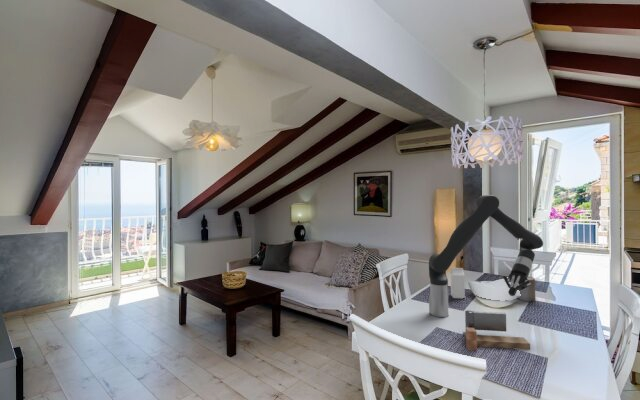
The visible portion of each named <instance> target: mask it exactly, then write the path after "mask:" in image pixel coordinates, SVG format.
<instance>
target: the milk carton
mask: <svg viewBox="0 0 640 400" xmlns="http://www.w3.org/2000/svg"><path fill="white" fill-rule="evenodd" d="M465 276H466V275H465V272H464V268H463V267H451V270H450V296H451V297H452V298H453V299H463V298H465V299H466V283H465V281H466V280H465V279H466V277H465Z"/></svg>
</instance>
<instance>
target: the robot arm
mask: <svg viewBox="0 0 640 400" xmlns="http://www.w3.org/2000/svg"><path fill="white" fill-rule="evenodd" d="M475 205H476V207H477V208H476V209H475V210H474V212H473V213H472V214H471V215H469V216H468V217H467V218H465V219H464V220H463V221H462V222H461V223H459V225H458V226H457V227H456V228H455V229H454V231H453V232H452V234H451V235H450V237H449V240H448V242H447V245H446V246H445V248H444V249H443V250H441V252H440V253H434V254H432V255H431V256H430V257H429V260H428V275H429V276H428V277H429V282H430V283H429V284H430V285H429V286H430V287H429V288H430V289H429V290H430V291H429V292H430V295H429V296H428V312H429V314H431V316H433V317H437V318H447V317H448V316H449V280H448V277H447V271H448V270H449V268H450V267H451V265H452V263H454V261H455V259H456V258H457V256H458V255H459V254H460V252H461V251H462V250H463V249H464V248H465V247H466V245H467V244H468V243H469V242H470V241H471V239H473V237H474V236H475V234H476V233H477V232H478V231H479V230H480V228H481V227H482V226H483V224H484V223H485V222H486V221H487V220H488V219H489V218H490V217H491V218H492V219H493V220H494V221H496V222H497V223H498V224H499V225H501V227H503V228H504V229H505V230H506V231H507V232H508V233H510V234H511V235H512V236H513V237H514V238H515V239H520V241H519V253H518V255H517V257H516V259H515V260H514V263H513V266H512V268H511V271H510V273H509V274H508V276H505V275H504V276H503V277H502V278H503V280H504V282H505V284H506V285H507V288H508V290H507V292H508V295H509V297H514V296H516V295H517V290H523V289H525V288H527V287H528V286H530V285H531V283H530V281H528V279H527V277H528V276H529V274H530V272H531V270H532V267H533V262H534V259H535V258H536V257H535V255H536V254H535V251H533V250H537V249H540V248H542V247H543V245H544V241H543V239H542V238H541V237H540V236H539V235H538V234H537V233H534V232H533V231H531V230H529V229H528V228H526V227H525V226H524V225H522V224H521V223H520V222H519V221H518V220H516V219H515V218H513V217H512V216H510V215H509V214H507V213H505V211H503V210H502V209H500V208H499V206H500V200H499V198H498V197H497V196H496V195H492V194H485V195H479V197H478V198H477V199H476V203H475ZM509 281H510V282H509Z"/></svg>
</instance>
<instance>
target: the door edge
mask: <svg viewBox="0 0 640 400" xmlns="http://www.w3.org/2000/svg"><path fill="white" fill-rule="evenodd" d="M462 336H464V337H465V347H466V346H467V347H466V348H467V350H468V351H476V350H478V347H488V348H489V347H490V348H502V347H503V349H505V348H506V349H519V350H531V343H530V342H529V341H528V340H527V339H526V338H525V337H521V336H519V337H518V336H504V335H488V334H486V335H485V334H478V332H477V330H475V329H474V328H467V327H466V326H465V331H464V332H462Z"/></svg>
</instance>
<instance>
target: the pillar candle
mask: <svg viewBox="0 0 640 400" xmlns="http://www.w3.org/2000/svg"><path fill="white" fill-rule="evenodd" d="M527 279H528V281H530V283H531V285H530V286H528V287H527V288H525V289H523V290H519V291H520V294H521V296H520V297H519V299H518V300H520V301H523V302H535V301H536V281H535V280H536V279H535V278H534V277H533V276H529V275H528V277H527Z"/></svg>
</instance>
